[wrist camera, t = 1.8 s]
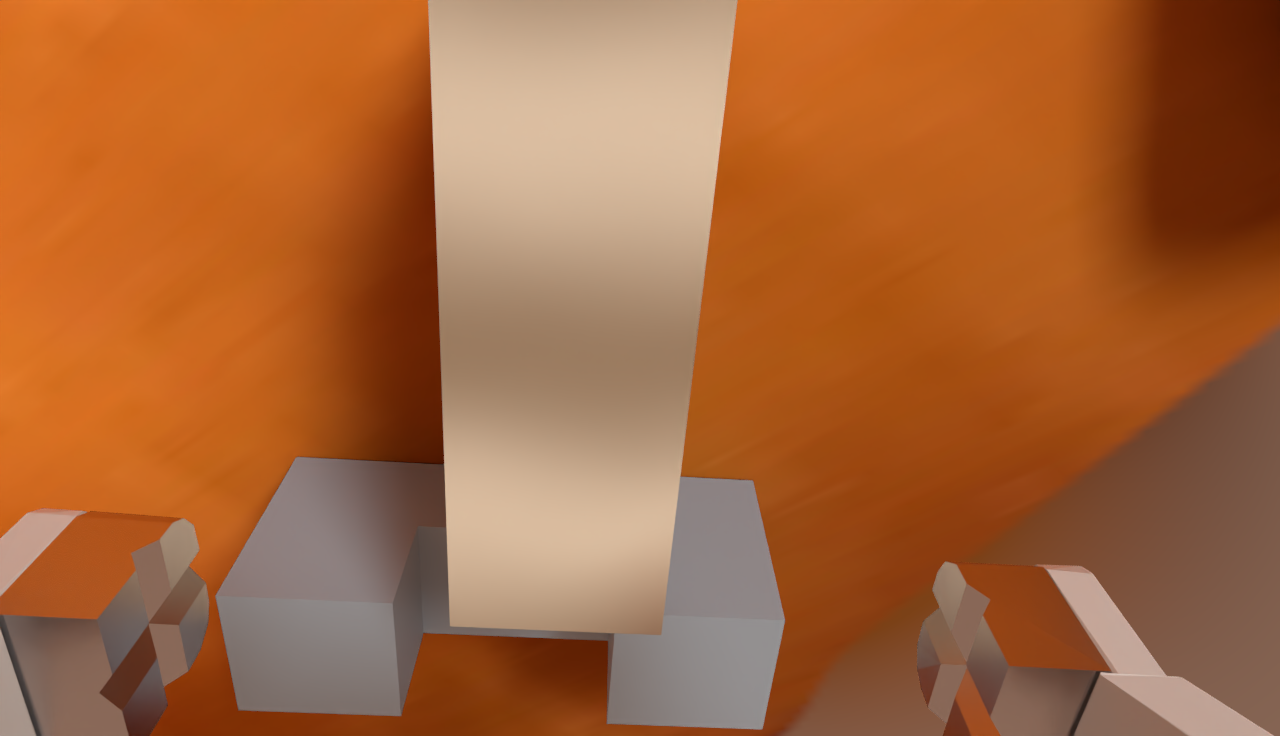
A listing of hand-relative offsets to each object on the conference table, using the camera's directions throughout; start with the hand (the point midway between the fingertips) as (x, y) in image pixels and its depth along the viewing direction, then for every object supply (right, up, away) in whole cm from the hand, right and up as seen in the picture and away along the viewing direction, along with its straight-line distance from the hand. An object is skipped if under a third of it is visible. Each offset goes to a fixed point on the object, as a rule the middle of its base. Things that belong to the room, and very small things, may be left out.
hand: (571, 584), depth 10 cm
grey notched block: (-3, -3, +18) cm, 18 cm away
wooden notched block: (-1, +7, +13) cm, 15 cm away
